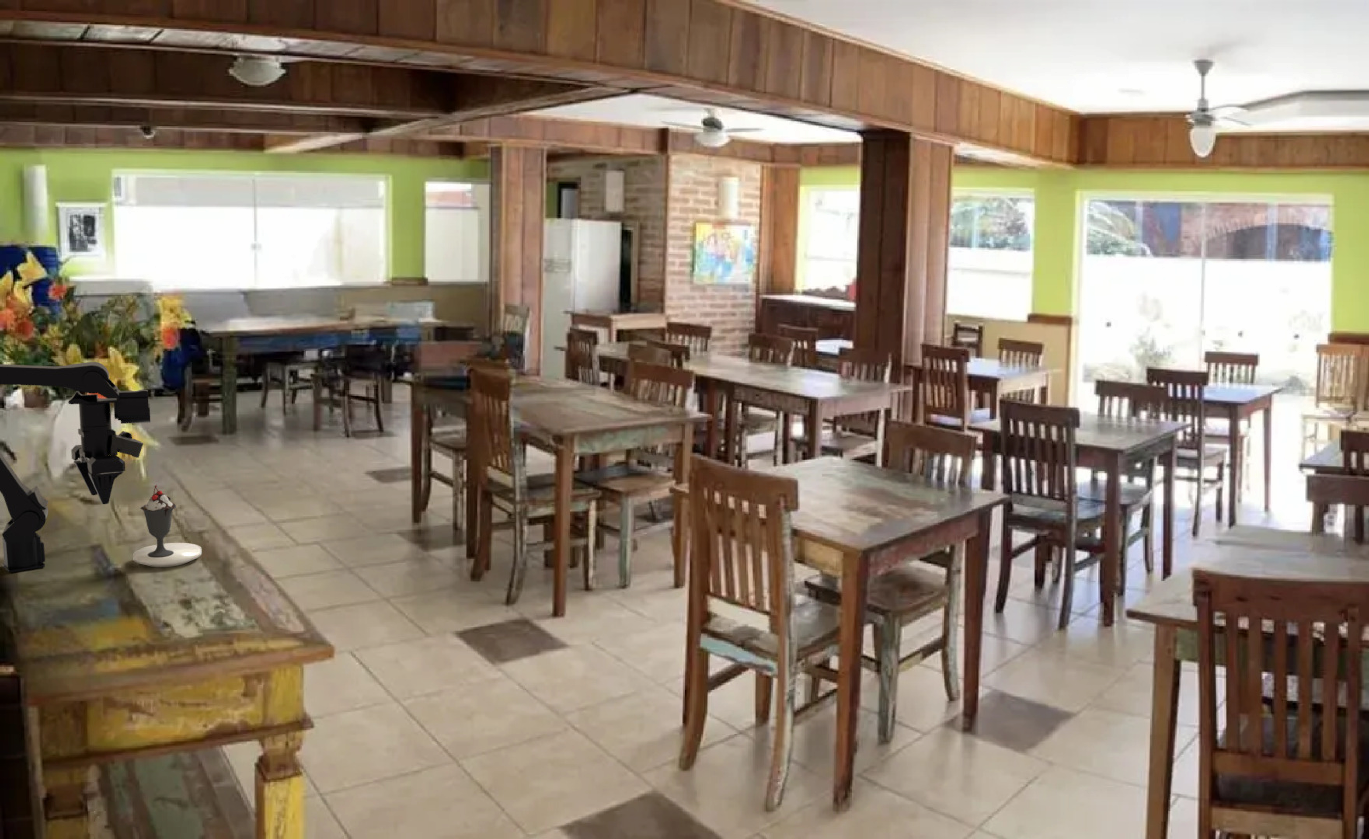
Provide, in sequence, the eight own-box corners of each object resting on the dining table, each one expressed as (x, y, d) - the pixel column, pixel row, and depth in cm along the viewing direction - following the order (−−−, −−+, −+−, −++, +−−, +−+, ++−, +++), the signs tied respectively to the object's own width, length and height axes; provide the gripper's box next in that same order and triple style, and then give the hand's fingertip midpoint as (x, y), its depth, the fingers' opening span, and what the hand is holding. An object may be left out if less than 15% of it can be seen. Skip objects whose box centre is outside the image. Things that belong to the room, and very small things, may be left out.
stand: (145, 573, 239) (145, 564, 239) (125, 559, 249) (124, 549, 248) (211, 562, 247) (210, 553, 247) (188, 548, 257) (188, 539, 257)
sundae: (153, 560, 241) (149, 488, 238) (137, 554, 245) (132, 483, 243) (184, 554, 246) (180, 482, 243) (168, 547, 250) (164, 477, 248)
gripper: (150, 428, 241) (154, 503, 243) (126, 414, 255) (129, 486, 258) (90, 433, 234) (94, 510, 237) (68, 419, 248) (73, 492, 251)
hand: (99, 499), depth 246 cm, fingers open, 9 cm apart
